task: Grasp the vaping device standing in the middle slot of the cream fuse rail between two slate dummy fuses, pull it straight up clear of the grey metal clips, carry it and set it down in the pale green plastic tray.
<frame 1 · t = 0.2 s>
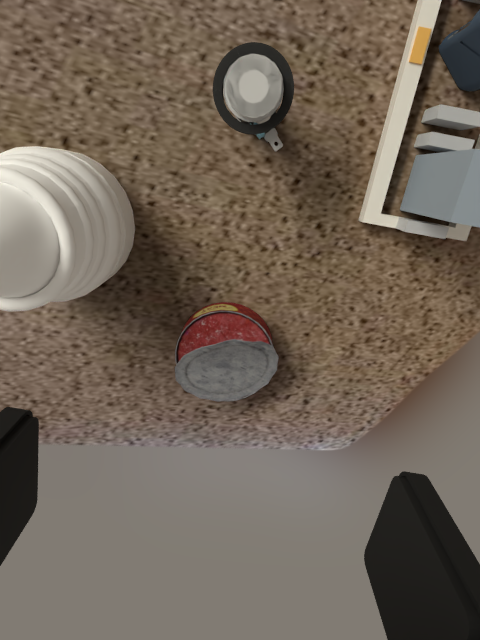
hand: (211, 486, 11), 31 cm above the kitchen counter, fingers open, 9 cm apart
canned food: (226, 345, 43), on the kitchen counter
vaping device: (460, 61, 34), resting in fuse rail
push button: (256, 116, 36), on the kitchen counter
honey pot: (68, 222, 39), on the kitchen counter
fuse rail: (461, 61, 34), on the kitchen counter
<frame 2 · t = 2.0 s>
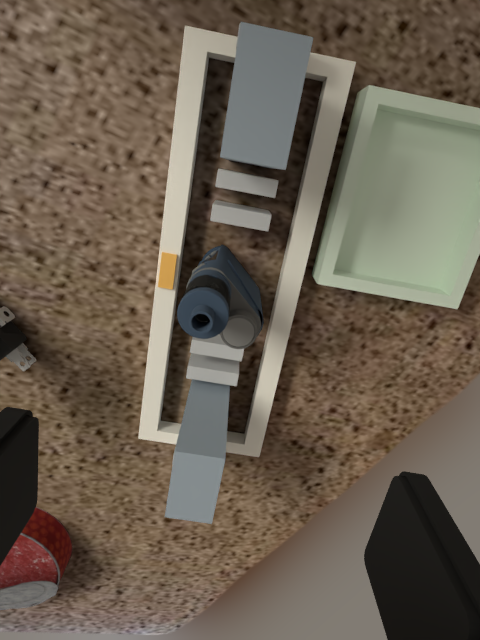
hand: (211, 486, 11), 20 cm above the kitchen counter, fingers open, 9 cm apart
canned food: (22, 539, 39), on the kitchen counter
vaping device: (229, 275, 29), resting in fuse rail
push button: (5, 326, 31), on the kitchen counter
tray: (402, 203, 27), on the kitchen counter
fuse rail: (229, 276, 29), on the kitchen counter
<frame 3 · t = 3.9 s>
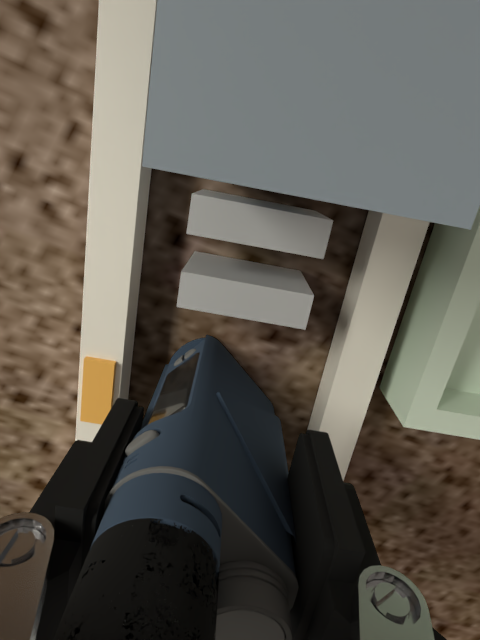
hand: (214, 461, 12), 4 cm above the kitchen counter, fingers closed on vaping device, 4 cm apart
vaping device: (223, 387, 16), resting in fuse rail, touching gripper
fuse rail: (223, 390, 15), on the kitchen counter
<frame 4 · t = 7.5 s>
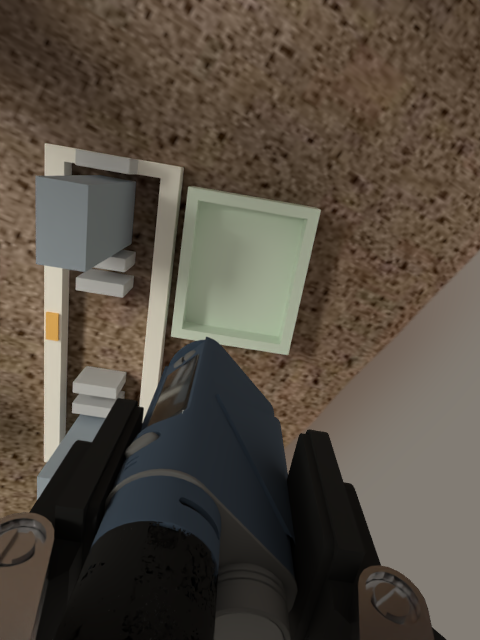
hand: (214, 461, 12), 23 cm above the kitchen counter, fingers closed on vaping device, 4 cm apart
vaping device: (222, 389, 16), point 19 cm above the kitchen counter, touching gripper
tray: (241, 269, 33), on the kitchen counter
fuse rail: (108, 328, 35), on the kitchen counter
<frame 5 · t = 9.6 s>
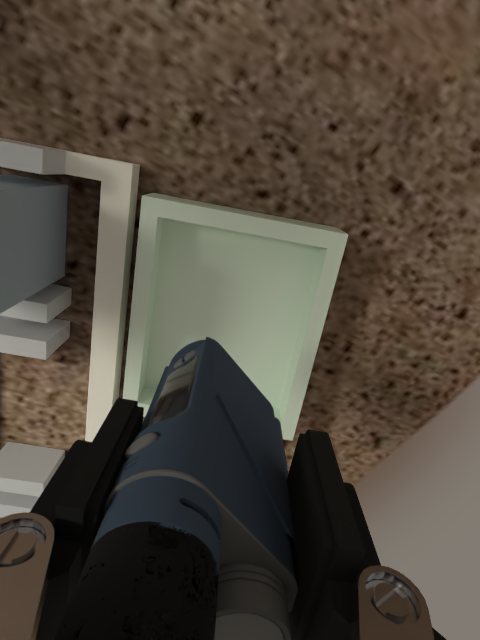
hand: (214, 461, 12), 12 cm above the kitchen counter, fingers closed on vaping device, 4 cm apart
vaping device: (223, 389, 16), point 8 cm above the kitchen counter, touching gripper
tray: (227, 314, 23), on the kitchen counter
fuse rail: (37, 391, 25), on the kitchen counter
when the fingers open (6 cm above the kitchen counter, at t = 11.2 s): vaping device drops 1 cm, resting on tray.
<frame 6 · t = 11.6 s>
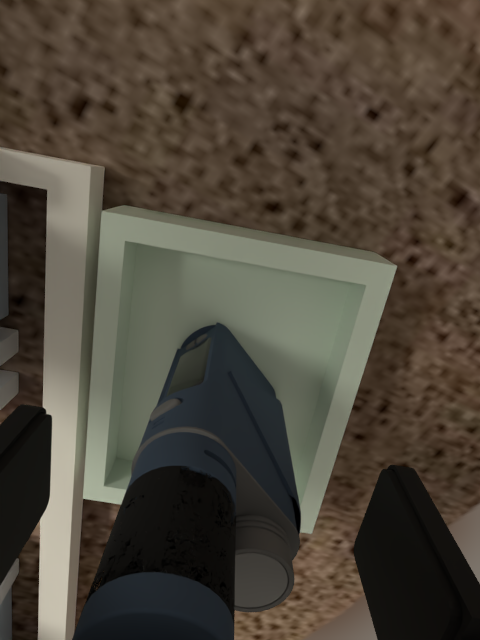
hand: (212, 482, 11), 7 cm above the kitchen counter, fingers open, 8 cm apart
vaping device: (229, 372, 17), point 1 cm above the kitchen counter, touching tray
tray: (225, 365, 17), on the kitchen counter
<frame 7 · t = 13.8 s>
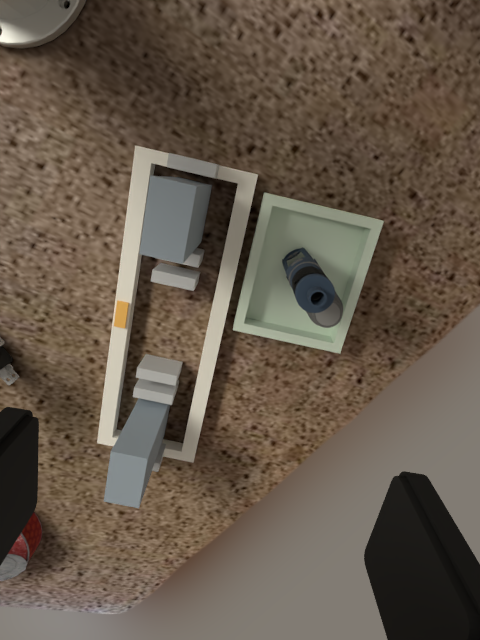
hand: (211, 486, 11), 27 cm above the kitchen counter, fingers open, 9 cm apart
canned food: (1, 523, 47), on the kitchen counter
vaping device: (304, 273, 35), point 1 cm above the kitchen counter, touching tray
tray: (301, 271, 36), on the kitchen counter
fuse rail: (171, 319, 38), on the kitchen counter
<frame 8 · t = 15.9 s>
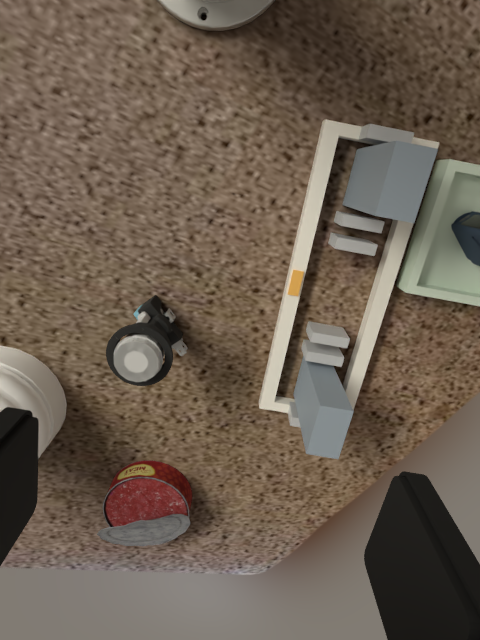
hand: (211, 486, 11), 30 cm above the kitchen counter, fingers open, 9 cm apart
canned food: (152, 492, 49), on the kitchen counter
vaping device: (470, 236, 38), point 1 cm above the kitchen counter, touching tray
push button: (165, 323, 42), on the kitchen counter
honey pot: (9, 398, 45), on the kitchen counter
tray: (464, 235, 38), on the kitchen counter
fuse rail: (335, 286, 40), on the kitchen counter
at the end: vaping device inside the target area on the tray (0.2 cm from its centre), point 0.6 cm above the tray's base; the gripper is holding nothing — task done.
